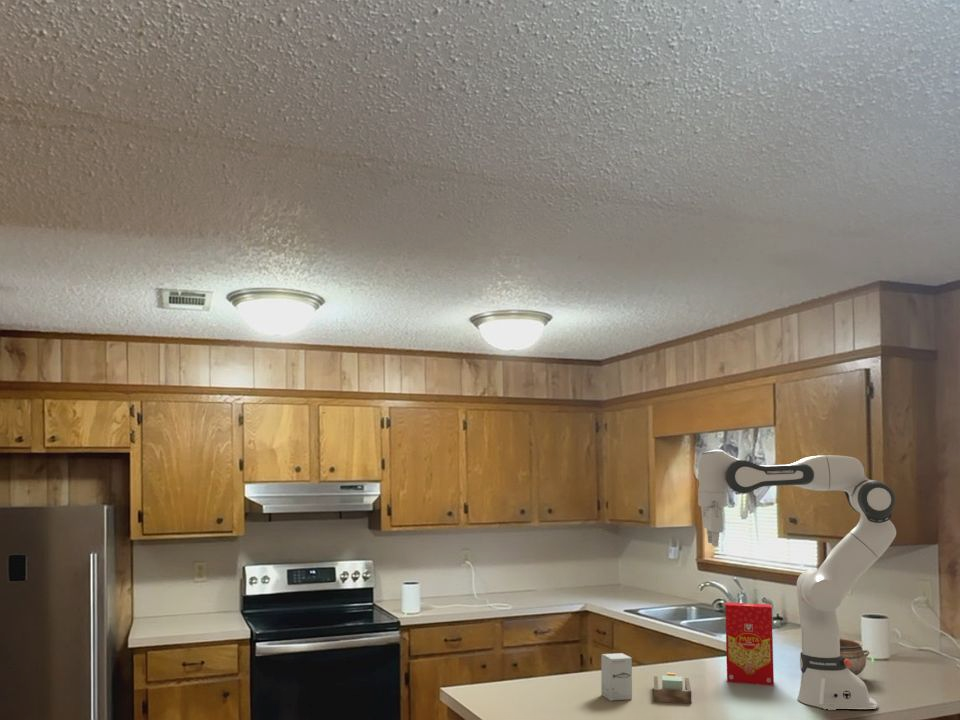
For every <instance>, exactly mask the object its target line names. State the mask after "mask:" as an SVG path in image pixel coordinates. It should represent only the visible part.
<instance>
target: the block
mask: <svg viewBox="0 0 960 720" xmlns="http://www.w3.org/2000/svg"><path fill="white" fill-rule="evenodd" d="M666 673H667V674H666V675H664V674H663V675H662V676H661V677H662V678H661V684H662V685H661V689H674V690H684V688H683V687H684V686H683V684H684V683H683V675H682V676H681V675H676V673H675V672H668V671H667V672H666Z"/></svg>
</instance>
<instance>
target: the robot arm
mask: <svg viewBox="0 0 960 720" xmlns="http://www.w3.org/2000/svg"><path fill="white" fill-rule="evenodd" d="M697 463H698V464H697V479H698V483H699V484H698V490H697V496H698V497H697V501H698V503H697V504H698V506H699V507H700V510H701V512H700V513H701V519H702V525H703V528H704V529H706V534H707V543H708V544H711V546H713V547H715V548H717V547H719V539H720V533H723V531H724V519H723V518H724V517H723V510H724V509H723V508H727V506H728V504H727V503H728V501H727V499H728V498H727V492H728V491H727V489H731V490H733V491H734V492H736V493H739V494H749V493H752V492H753V491H755V490H758V489H759V488H763V487H777V486H779V487H782V486H793V487H798V488H801V489H805V490H811V491H819V492H820V491H822V492H825V491H826V492H827V491H828V492H829V491H842V492H844V494H845V497H846V499H847V500H846V501H847V502H848V504H849V506H850V507H851V508H852V510H854V511H855V512H857V513H859V514H860V517H859V521H858V522H857V524H856V525H855V527H854V528H852V529H851V530H850V531H849V532H848V533H847V534H846V535H845V536H843V538H842V539H841V540H840V541H839V542H838V543H837V544H836V545H835V546H834V547H833V548H832V549H831V550H830V551H829V553H828V555H827V557H826V558H825V559H824V561H823V562H822V563H821V565H820V566H819V568H818V569H815V568H813V569H812V568H811V569H808V570H804V571H803V572H802V573H801V574H800V575H799V576H798V578H797V580H796V591H797V592H796V593H797V595H796V596H797V606H798V613H799V621H800V635H801V640H800V641H801V651H800V657H799V666H800V671H801V677H800V678H801V679H800V686H799V691H798V695H797V700H798V701H799V702H801V703H803V704H806V705H808V706H812V707H817V708H820V709H822V708H823V709H822V710H826V709H828V710H827V711H837V710H836V709H847V708H875V707H876V706H877V707H878V703H877V701H876V700H875V699H873V698H872V697H871V696H870V694H869V690H868V687H867V685H866V683H865V682H864V681H863V680H862V679H861V678H859V676H857V675H855V674H854V673H852V672H851V671H850V670H849V669H847V667H850V665H851V664H852V663H851V661H850V660H849V659H846V658H845V657H843V656H842V655H840V639H839V637H840V626H839V623H838V616H837V609H838V608H839V607H840V606H841V604H842V602H843V600H844V599H845V598H846V597H847V595H848V594H849V593H850V591H852V589H853V588H854V587H855V585H856V583H857V581H858V580H859V579H860V578H861V577H862V576H863V574H865V573H866V572H867V571H868V570H869V569H870V567H872V566H873V565H874V564H875V563H876V562H877V561H878V559H880V558H881V556H883V555H884V553H885V552H886V551H887V550H888V548H889V547H890V546H891V544H892V543H893V541H894V540H895V538H896V536H897V529H896V527H895V524H893V522H892V521H891V518H892V516H893V511H894V508H895V503H896V495H895V492H894V491H893V489H892V488H891V487H890V486H889V485H888V484H886V483H885V482H883V481H879V480H874V479H870V478H868V477H867V476H866V474H865V468H864V466H863V464H862V462H861V461H860V460H859V459H858V458H856V457H853V456H847V455H837V454H836V455H835V454H832V455H830V454H828V455H825V454H824V455H813V456H807V457H804V458H801V459H799V460H798V461H796V462H793V463H789V464H775V465H773V464H771V465H770V464H769V465H761V464H757V463H754V462H751V461H749V460H746V459H745V460H743V459H742V460H741V459H739V458H736V457H735V456H732V455H730V454H728V453H727V452H726V451H724V450H722V449H713V450H709V451H708V450H707V451H704V452H702V453H701V454H700V456H699V458H698V462H697ZM869 697H870V698H869Z"/></svg>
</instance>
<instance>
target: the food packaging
mask: <svg viewBox="0 0 960 720" xmlns="http://www.w3.org/2000/svg"><path fill="white" fill-rule="evenodd" d="M724 605H725V644H726V647H725V648H726V653H725V655H726V683H737V684H747V685H748V684H749V685H762V686H763V685H764V686H772V687H773V686H774V685H775V684H774V680H775V679H774V676H775V675H774V674H775V673H774V647H773V646H774V645H773V644H774V643H773V642H774V641H773V638H774V637H773V609H772V608H773V607H772V604H765V603H746V602H745V603H744V602H743V603H742V602H729V601H726V602H725V604H724Z"/></svg>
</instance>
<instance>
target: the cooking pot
mask: <svg viewBox="0 0 960 720" xmlns="http://www.w3.org/2000/svg"><path fill="white" fill-rule="evenodd" d="M839 639H840V655H842V656H843V657H845V658H846V659H849V660H850V661H851V663H852V664H851V665H850V667H847V669H849V670H850V671H851V672H852V673H854V674H855V675H856V676H857V675H859V674H861V673H862V672H863V671H864V669H865V668H866V665H867V659H866V657H868V656H869V655H870V651H869V650H868V649H863V647H862V646H863V645H864V643H863V642H862V641H859V640H857V639H854V638H849V637H844V636H843V637H841V636H839Z"/></svg>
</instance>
